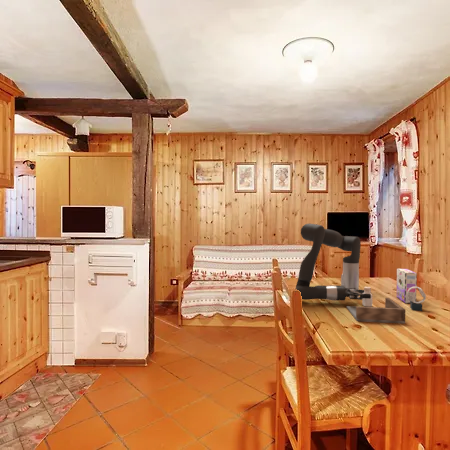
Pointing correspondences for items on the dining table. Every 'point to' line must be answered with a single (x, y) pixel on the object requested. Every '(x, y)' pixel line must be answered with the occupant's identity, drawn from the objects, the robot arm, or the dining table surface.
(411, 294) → the candy box
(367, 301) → the pepper shaker
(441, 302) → the dining table surface
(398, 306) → the corner wooden bin
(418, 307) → the watch
